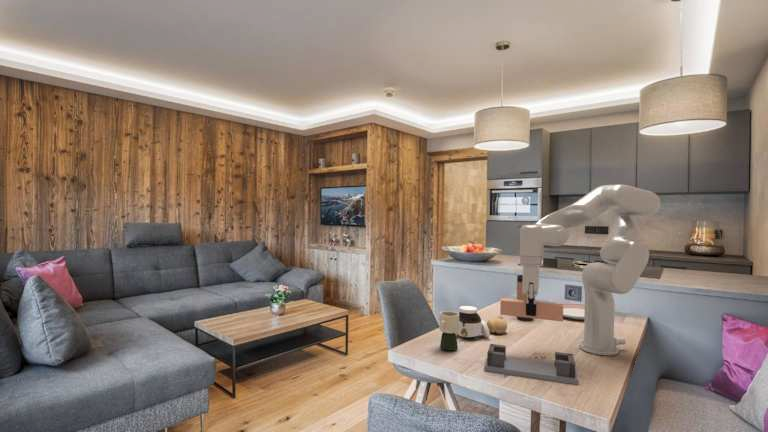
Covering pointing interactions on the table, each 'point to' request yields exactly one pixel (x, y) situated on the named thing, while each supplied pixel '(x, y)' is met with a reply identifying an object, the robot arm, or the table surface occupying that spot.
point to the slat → (542, 309)
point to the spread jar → (471, 324)
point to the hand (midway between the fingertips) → (531, 313)
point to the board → (531, 370)
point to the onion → (497, 325)
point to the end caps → (562, 360)
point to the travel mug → (521, 296)
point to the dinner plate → (573, 310)
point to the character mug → (449, 329)
